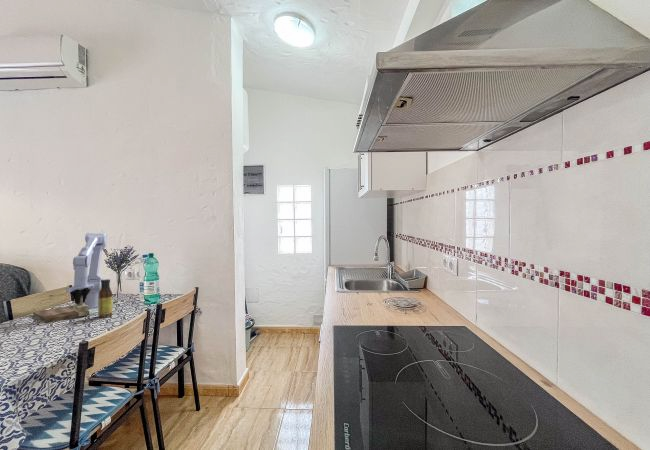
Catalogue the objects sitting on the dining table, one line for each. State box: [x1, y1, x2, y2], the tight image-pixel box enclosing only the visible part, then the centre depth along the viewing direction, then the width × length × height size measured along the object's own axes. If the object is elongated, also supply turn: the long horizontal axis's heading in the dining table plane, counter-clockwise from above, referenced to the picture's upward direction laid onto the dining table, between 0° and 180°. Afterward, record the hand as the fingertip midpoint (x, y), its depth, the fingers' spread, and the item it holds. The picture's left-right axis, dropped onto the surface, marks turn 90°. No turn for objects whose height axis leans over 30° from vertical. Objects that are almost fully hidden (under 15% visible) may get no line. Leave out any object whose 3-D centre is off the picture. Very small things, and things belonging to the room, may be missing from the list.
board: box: [32, 305, 90, 323], centre depth 167 cm, size 18×20×2 cm
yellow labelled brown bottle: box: [97, 278, 114, 319], centre depth 168 cm, size 6×6×20 cm
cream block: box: [72, 295, 90, 317], centre depth 169 cm, size 4×9×10 cm, turn 57°
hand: (80, 303), depth 169 cm, fingers closed on cream block, 2 cm apart
